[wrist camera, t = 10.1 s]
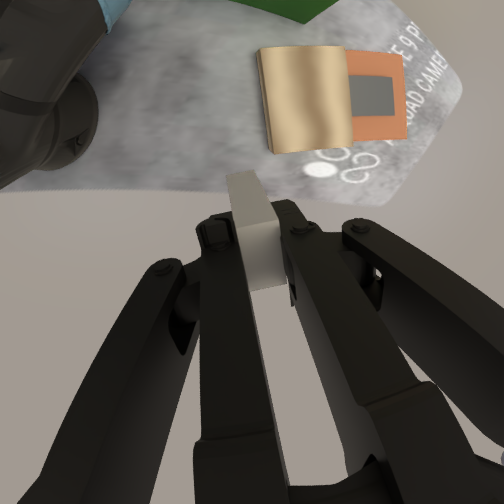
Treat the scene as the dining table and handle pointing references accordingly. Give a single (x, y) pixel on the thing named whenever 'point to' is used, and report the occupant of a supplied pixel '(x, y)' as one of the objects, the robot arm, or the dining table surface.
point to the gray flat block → (371, 95)
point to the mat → (393, 67)
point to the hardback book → (291, 7)
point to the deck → (305, 97)
